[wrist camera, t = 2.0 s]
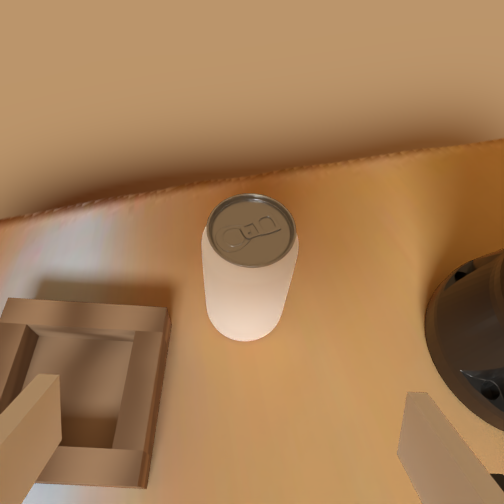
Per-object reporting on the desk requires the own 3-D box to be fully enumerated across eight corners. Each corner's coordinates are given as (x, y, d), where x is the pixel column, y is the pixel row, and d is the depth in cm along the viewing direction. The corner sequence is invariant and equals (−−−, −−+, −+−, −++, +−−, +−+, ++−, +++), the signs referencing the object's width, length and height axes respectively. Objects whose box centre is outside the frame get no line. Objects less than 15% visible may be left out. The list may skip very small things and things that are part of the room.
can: (194, 291, 37) (183, 207, 27) (260, 263, 39) (272, 175, 29) (226, 356, 34) (226, 290, 24) (295, 323, 36) (322, 248, 26)
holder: (171, 324, 35) (166, 307, 32) (146, 489, 29) (137, 486, 26) (26, 315, 35) (8, 297, 32) (-31, 479, 29) (-60, 475, 26)
